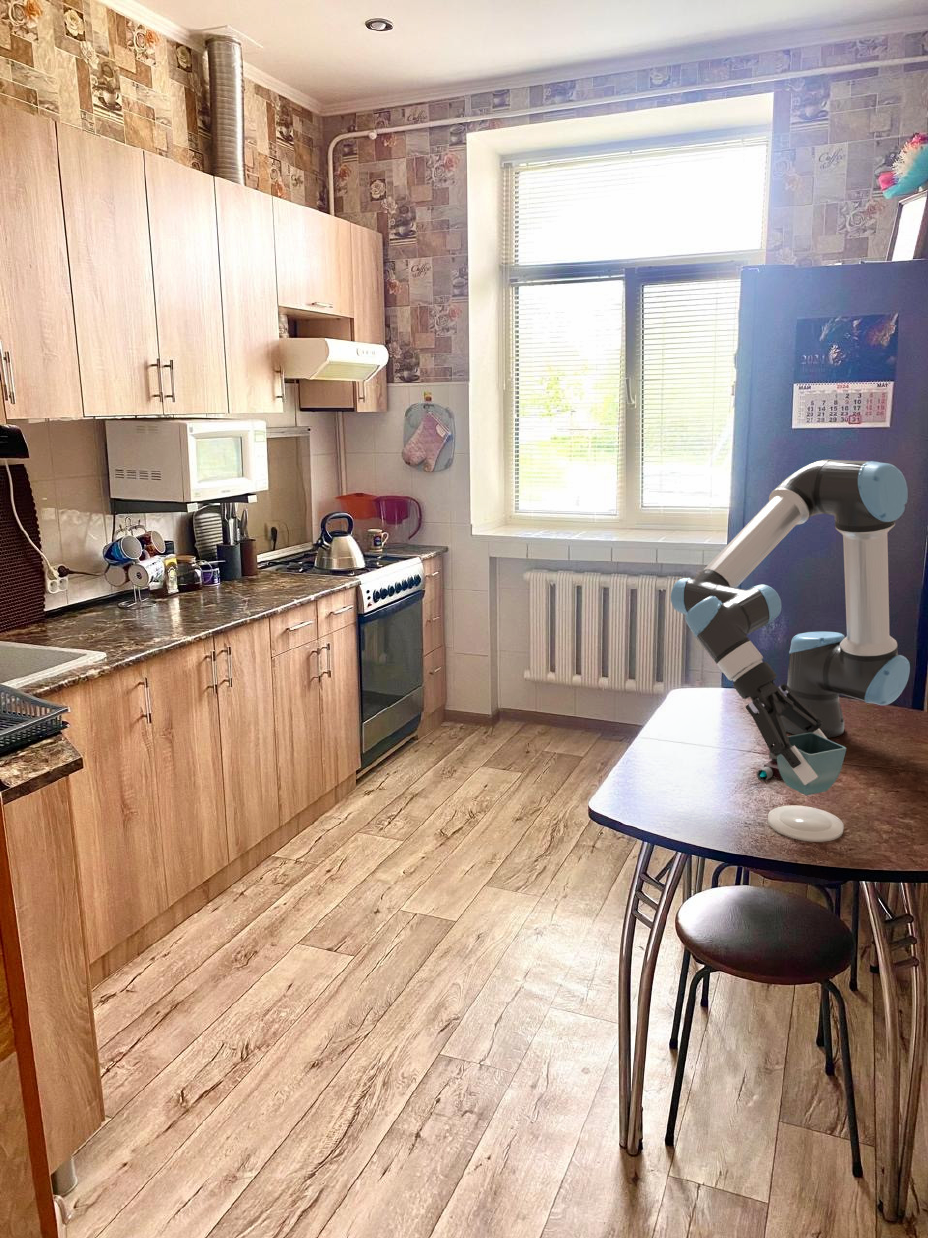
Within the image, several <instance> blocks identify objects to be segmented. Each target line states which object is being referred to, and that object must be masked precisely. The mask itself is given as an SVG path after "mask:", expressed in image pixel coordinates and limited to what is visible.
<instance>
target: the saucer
mask: <svg viewBox="0 0 928 1238" xmlns="http://www.w3.org/2000/svg"><path fill="white" fill-rule="evenodd" d="M842 821H843V820H841V819H840V818H839V817H837V816H836V815H835V814H832V813H831V812H828V811H826V810H823V809H821V808H820V809H819V808H817V807H816V808H815V807H811V806H806V805H793V804H791V805H783V806H778V807H775V808H773V809H771V810H770V811H769V812H768V815H767V823H768V825H769V827H770V828H771V829H772V830H773V831H775V832H776V833H779V834H780V835H782V836H785V837H788V838H791V839H794V840H798V841H803V842H810V843H811V842H816V843H823V842H831V841H834V840H837V839H839V838H840V837H841V836H843V833H844V823H843V822H842Z"/></svg>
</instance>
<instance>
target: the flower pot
mask: <svg viewBox="0 0 928 1238" xmlns="http://www.w3.org/2000/svg"><path fill="white" fill-rule="evenodd" d="M787 736H788V735H787ZM788 739H789V742H790V744H791V747H793V746H794V745H795V747H796V748H797V749H798V751H799V752H800V753H801V754H802V756H803V757H804V758H805V760H806V761H807V763H808V764H809V765H810V766H811V768H812V769H813V770H814V772H815V773H816V774H817V776H818V777H817V778H816V779H814V780H813V781H811V782H809V783H808V784H806V785H804V784H803V782H802V781H801V780H800V778H799V777H798V776H797V774H796V773H795V772H794V770H793V769H792V768H791V766H790V765H789V764H788V762H787V761H786V760H785V758H784V757H783V756H782V754H780V755H778V756H777V764H778V769H779V772H780V774H781V776H782V778H783V779H782V780H783V782H784V784H785V785H786V786H787V787H788V788H790V789H793V790H795V791H796V792H798V793H800V794H802V795H804V796H811V795H815V794H820V793H824V792H827V791H829V790H830V789H831V787H832V786H833V785H834V783H836V781H837V779H838V777H839V776H840V774H841V771H842V767H843V763H844V760H845V756H846V752H847V747H846V746H844V745H841V744H839V743H837V742H834V741H833V740H830V739H828V738H827V739H826V738H824V737H821V736H819V735H817V734H815V733H812V732H809V733H803V734H798V735H795V734H792V735H789V736H788ZM791 747H790V748H791Z"/></svg>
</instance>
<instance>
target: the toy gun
mask: <svg viewBox="0 0 928 1238" xmlns="http://www.w3.org/2000/svg"><path fill="white" fill-rule="evenodd" d="M768 750H769V749H768ZM768 759H771V760H770V761H769V762H767V763H765V764H764V765H763V767H761V768H760V769H759V770H757V772H756V776H757V778H758V779H762V778H765V779H764V781H767V780H769V779H771V778H777V779H780V780H783V778H782V776H781V774H780V772H779V769H778V764H777V756H775V755H774V754H772V753H771V752H770V750H769V752H768Z"/></svg>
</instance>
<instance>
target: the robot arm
mask: <svg viewBox="0 0 928 1238" xmlns="http://www.w3.org/2000/svg"><path fill="white" fill-rule="evenodd" d="M908 491H909V489H908V485H907V481H906V478H905V476H904V473H902V471H901V470H900V469H898V467H897V466H895V465H893V464H891V463H887V462H879V461H876V460H871V461H870V460H847V459H846V460H845V459H842V460H841V459H834V458H833V459H832V458H828V459H827V458H826V459H820V460H817V461H814V462H811V463H808V464H807V465H805V466H803V467H801V468H799V469H798V470H796V471H795V472H793V473H792V474H790V475H789V476H788V477H786V478H785V479H784V480H783V481H782V482H780V484H778V485H777V486H776V487H775V488H774V489H773V490H772V491H771V492H770V494H769V497H768V502H767V503H766V504H765V505H764V506H763V507H762V508H761V509H760V510H759V511H758V513H757V514H755V516H754V517H752V519H750V521H749V522H748V523H747V524H746V525H745V526H744V527H743V528H742V529H741V530H740V531H739V532H738V533H737V534H736V535H735V536H734V538H732V539H731V540H730V541H729V543H728V544H727V545H726V546H724V548H723V549H722V550H721V551H720V552H719V553H718V554H717V555H716V556H715V557H714V558H713V559H712V560H711V561H710V563H708V565H706V566H705V567H704V569H702V571H701V572H700V573H699V574H698V575H697V576H696V577H694V578H693V577H683V578H681V579H678V580H677V581H676V582H675V583H674V585H673V586H672V589H671V592H670V603H671V604H672V607H673V609H674V610H675V611H676V612H678V613H679V614H683V615H684V621H685V623H686V624H687V626H688V628H689V629H690V631H691V632H692V634H693V636H694V638H696V639H697V641H698V642H699V643H700V645H701V646H702V647H703V648H704V650H705V651H706V652H707V653H708V654H709V656H710V658H711V659H712V660H713V661H714V663H715V664H717V666H718V668H719V670H720V672H721V673H722V674H724V675H725V677H726V678H727V680H728V681H733V682H732V687H733V688H734V690H736V692H737V693H738V695H739V696H740V697H741V698H742V699H743V700H747V699H749V698H750V700H751V701H750V702H749V703H748V704H746V705H745V708H746V710H747V712H748V713H749V714H750V716H751V718H752V719H753V720H754V721H753V722H754V723H755V724H756V727H757V728H758V731H759V733H760V734H761V736H762V738H763V741H764V742H765V744H766V746H767V748H768V750H770V752H771V753H772V754H774V755H775V756H778V755H780V754H782V756H783V757H784V758H785V760H786V761H787V762H788V764H789V765H790V766H791V768H792V769H793V770H794V772H795V773H796V774H797V776H798V777H799V778H800V780H801V781H802V782H803V784H804V785H806V784H808V783H809V782H811V781H813V780H814V779H816V778H817V777H818V776H817V774H816V773H815V772H814V770H813V769H812V768H811V766H810V765H809V764H808V763H807V761H806V760H805V758H804V757H803V756H802V754H801V753H800V752H799V751H798V749H797V748H796V747H795V745H794V746H793V747H791V744H790V742H789V739H788V733H789V734H792V735H798V734H803V733H809V732H812V733H815V734H817V735H819V736H821V737H824V738H826V739H828V738H829V739H830V738H835V737H839V736H841V735H842V734H844V732H845V731H844V730H845V719H844V716H843V711H842V707H841V704H840V695H841V696H845V697H849V698H852V699H856V700H860V701H863V702H865V703H866V704H876V705H879V706H887V705H890V704H892V703H893V702H894V701H896V700H897V699H898V698H899V697H900V695H902V693H903V691H904V690H905V688H906V686H907V683H908V681H909V677H910V670H911V665H910V661H909V659H907V657H906V656H904V655H902V654H898V642H897V640H896V639H895V638H893V636H891V635H890V606H889V605H890V601H889V600H890V597H889V596H890V593H889V592H890V591H889V556H888V555H889V552H888V551H889V550H888V545H889V544H888V542H889V540H888V533H889V531H890V530H892V529H893V528H894V527H895V526H896V521H897V520H898V519H899V518H901V516H902V515H903V514H904V512H905V509H906V506H905V505H906V504H907V502H908V498H909V497H908V496H909V495H908ZM821 514H825V515H829V516H834V528H835V529H836V530H837V531H838V532H839V533H840V534H841V535H842V538H843V544H842V545H843V565H844V568H843V569H844V589H845V590H844V592H845V593H844V594H845V619H846V621H845V622H846V636H845V634H843V633H841V632H835V631H807V632H802V633H797V634H796V635H794V636H793V637H792V639H791V642H790V647H789V648H790V649H789V651H788V654H789V657H788V659H789V661H788V670H787V684H786V683H782V684H780V685H779V686H777V685H776V684H775V683H774V681H775V680H776V679H777V676H778V675H777V673H776V672H775V671H774V670H773V668H772V667H771V666H770V665H769V663H768V662H767V661H763V659H764V657H763V655H762V654H761V653H760V651H759V650H758V648H757V647H756V646H755V644H753V642H752V641H751V639H750V638H749V636H748V635H749V634H751V633H753V632H755V631H757V630H760V629H761V628H764V627H765V626H768V625H769V624H770V622H772V621H774V620H775V619H776V618H778V617H779V615H780V614H781V612H782V600H781V597H780V595H779V593H778V592H777V591H776V590H775V589H774V588H773V587H771V586H770V585H767V584H758V585H755V586H751V587H749V589H743V588H739V586H740V585H741V583H743V582H744V581H745V579H746V578H748V577H749V576H750V574H751V573H752V572H753V571H754V570H755V569H756V568H757V567H758V565H760V563H762V562H763V560H764V559H765V558H766V557H767V556H768V555H770V553H771V552H773V550H774V549H775V548H776V547H777V546H778V545H779V543H780V542H781V541H782V540H783V539H784V538H785V537H786V536H787V535H788V534H789V533H790V532H791V531H792V530H793V528H795V527H796V526H798V525H802V524H805V522H807V521H808V520H809V519H810V518H811V517H813V516H816V515H821ZM790 747H791V748H790Z"/></svg>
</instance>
